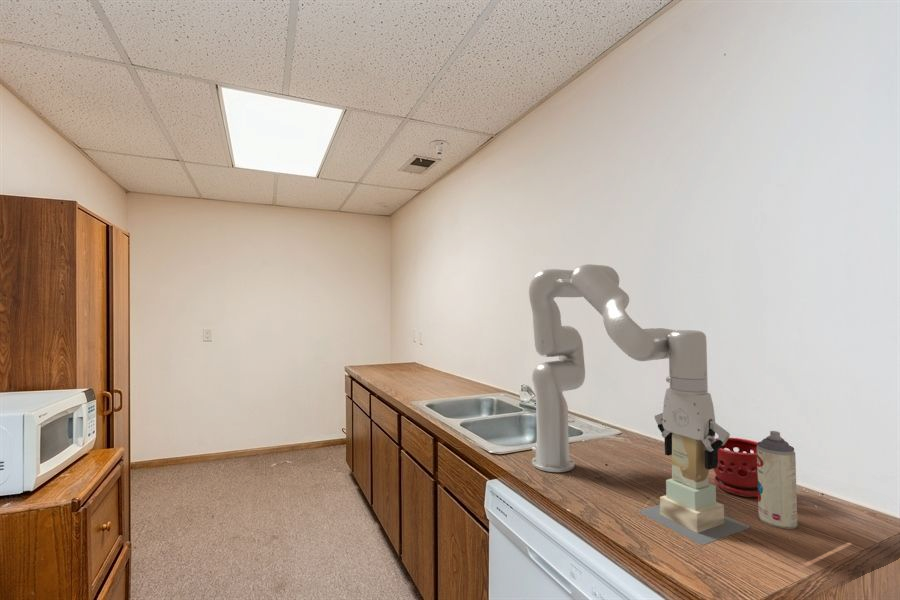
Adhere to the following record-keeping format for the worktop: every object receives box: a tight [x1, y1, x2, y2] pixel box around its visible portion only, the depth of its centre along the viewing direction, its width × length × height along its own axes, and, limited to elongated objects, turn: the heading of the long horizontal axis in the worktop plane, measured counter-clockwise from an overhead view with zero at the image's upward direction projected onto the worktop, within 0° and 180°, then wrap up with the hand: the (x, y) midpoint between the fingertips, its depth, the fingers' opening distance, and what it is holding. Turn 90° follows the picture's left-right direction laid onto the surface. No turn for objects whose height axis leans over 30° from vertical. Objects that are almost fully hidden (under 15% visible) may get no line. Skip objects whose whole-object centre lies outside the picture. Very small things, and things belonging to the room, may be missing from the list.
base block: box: [659, 494, 725, 533], centre depth 95 cm, size 9×9×4 cm
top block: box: [665, 478, 717, 511], centre depth 95 cm, size 7×7×4 cm
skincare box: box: [671, 433, 710, 489], centre depth 96 cm, size 6×4×12 cm
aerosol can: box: [757, 430, 798, 530], centre depth 94 cm, size 7×7×20 cm
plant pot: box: [713, 437, 759, 498], centre depth 111 cm, size 13×13×12 cm
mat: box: [636, 503, 751, 546], centre depth 95 cm, size 16×16×1 cm
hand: (690, 461), depth 96 cm, fingers open, 9 cm apart
